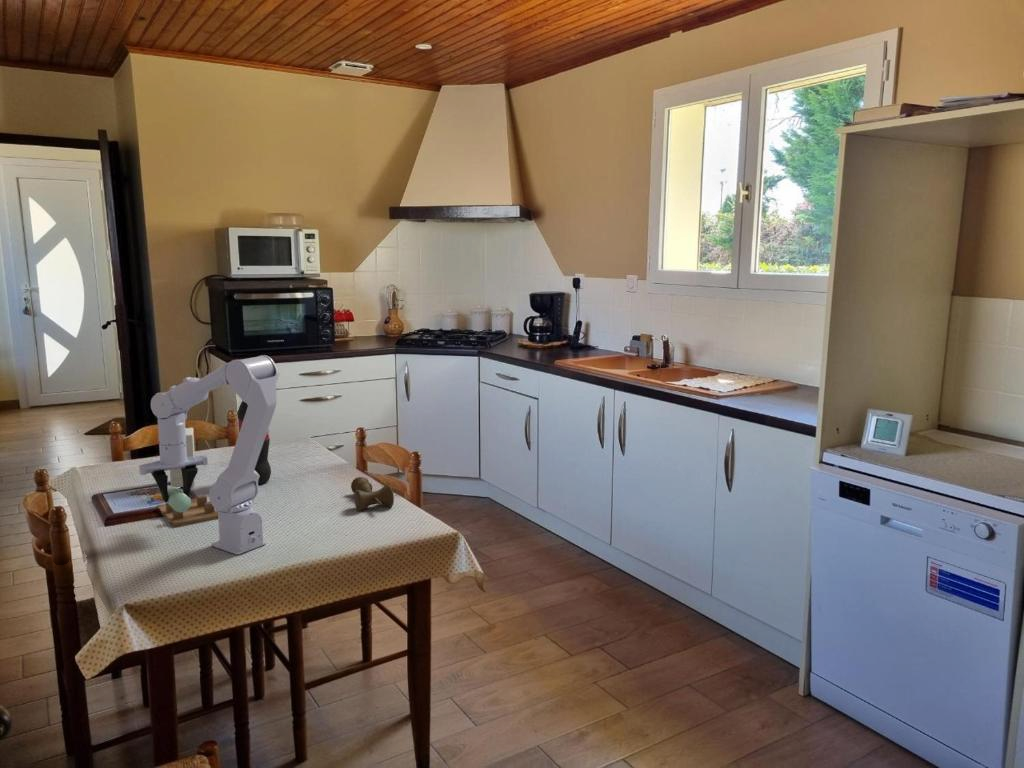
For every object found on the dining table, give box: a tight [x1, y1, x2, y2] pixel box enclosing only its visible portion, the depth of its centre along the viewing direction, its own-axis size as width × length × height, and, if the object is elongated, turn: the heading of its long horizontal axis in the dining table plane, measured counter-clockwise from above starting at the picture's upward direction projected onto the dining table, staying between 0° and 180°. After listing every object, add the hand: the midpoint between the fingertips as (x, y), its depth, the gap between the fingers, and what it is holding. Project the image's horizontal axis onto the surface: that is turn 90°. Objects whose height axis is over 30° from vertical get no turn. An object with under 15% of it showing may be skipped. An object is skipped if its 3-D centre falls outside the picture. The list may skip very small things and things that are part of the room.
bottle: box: [165, 484, 191, 512], centre depth 176 cm, size 12×4×4 cm, turn 40°
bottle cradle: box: [156, 494, 218, 528], centre depth 189 cm, size 16×11×3 cm
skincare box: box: [169, 427, 196, 488], centre depth 212 cm, size 8×7×16 cm
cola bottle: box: [236, 400, 272, 486], centre depth 213 cm, size 8×8×30 cm
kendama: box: [350, 476, 395, 512], centre depth 199 cm, size 6×10×20 cm
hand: (176, 498), depth 175 cm, fingers closed on bottle, 4 cm apart
